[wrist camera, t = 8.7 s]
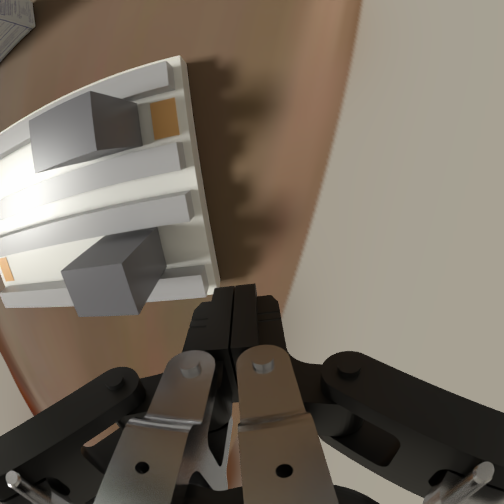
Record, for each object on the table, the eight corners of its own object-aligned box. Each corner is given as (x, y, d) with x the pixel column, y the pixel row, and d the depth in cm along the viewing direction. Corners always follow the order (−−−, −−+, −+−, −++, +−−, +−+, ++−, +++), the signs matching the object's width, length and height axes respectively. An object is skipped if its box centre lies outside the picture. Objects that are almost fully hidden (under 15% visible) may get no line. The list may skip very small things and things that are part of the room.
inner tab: (84, 121, 14) (28, 120, 9) (137, 103, 14) (90, 90, 9) (89, 160, 15) (35, 173, 10) (142, 145, 15) (96, 150, 10)
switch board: (-15, 150, 16) (-39, 156, 13) (186, 63, 15) (173, 48, 12) (24, 296, 22) (6, 313, 19) (220, 280, 21) (215, 305, 18)
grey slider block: (105, 235, 17) (60, 271, 12) (157, 226, 17) (121, 263, 12) (116, 272, 18) (78, 316, 13) (166, 266, 18) (138, 314, 13)
